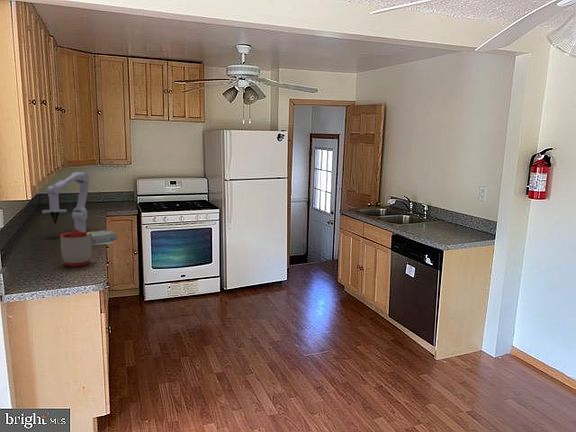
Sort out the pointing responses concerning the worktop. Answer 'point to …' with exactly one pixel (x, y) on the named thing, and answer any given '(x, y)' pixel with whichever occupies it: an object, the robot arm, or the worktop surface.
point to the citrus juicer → (76, 248)
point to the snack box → (102, 236)
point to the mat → (103, 243)
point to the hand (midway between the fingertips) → (55, 223)
